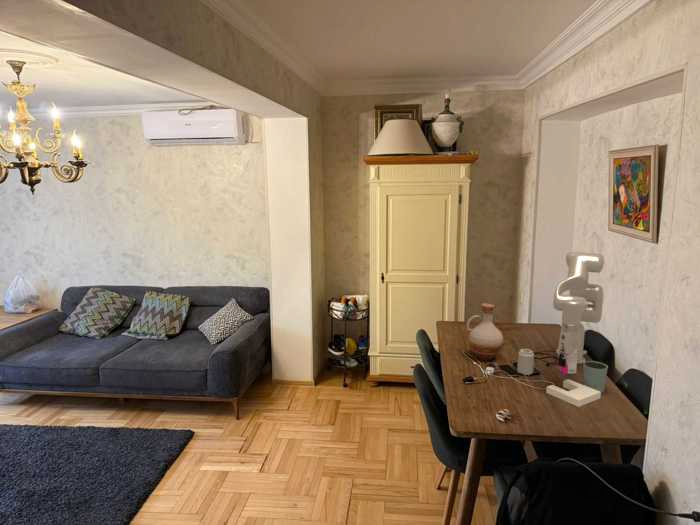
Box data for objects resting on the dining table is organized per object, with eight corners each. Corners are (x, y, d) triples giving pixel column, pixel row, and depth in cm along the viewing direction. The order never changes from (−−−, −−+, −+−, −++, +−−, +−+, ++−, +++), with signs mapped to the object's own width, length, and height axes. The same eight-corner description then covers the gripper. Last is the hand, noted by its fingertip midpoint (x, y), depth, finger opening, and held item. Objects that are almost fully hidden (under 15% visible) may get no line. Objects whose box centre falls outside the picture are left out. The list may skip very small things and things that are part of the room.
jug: (462, 360, 257) (464, 306, 251) (467, 349, 273) (469, 298, 268) (500, 365, 250) (503, 310, 244) (503, 354, 266) (506, 302, 261)
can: (532, 371, 243) (534, 348, 241) (533, 377, 236) (534, 353, 234) (517, 369, 245) (518, 347, 243) (517, 375, 238) (518, 352, 236)
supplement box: (569, 369, 220) (571, 345, 218) (576, 374, 215) (578, 350, 213) (557, 369, 220) (559, 346, 218) (563, 375, 214) (565, 350, 212)
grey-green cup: (596, 395, 216) (598, 370, 213) (576, 387, 224) (578, 362, 222) (610, 391, 220) (612, 366, 218) (590, 382, 229) (592, 359, 227)
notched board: (568, 385, 226) (568, 379, 226) (600, 398, 213) (600, 391, 212) (546, 392, 218) (546, 386, 218) (578, 407, 205) (578, 400, 204)
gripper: (565, 332, 206) (562, 371, 209) (590, 326, 215) (586, 363, 218) (550, 327, 212) (547, 365, 215) (574, 322, 221) (571, 358, 224)
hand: (567, 364), depth 217 cm, fingers closed on supplement box, 7 cm apart
